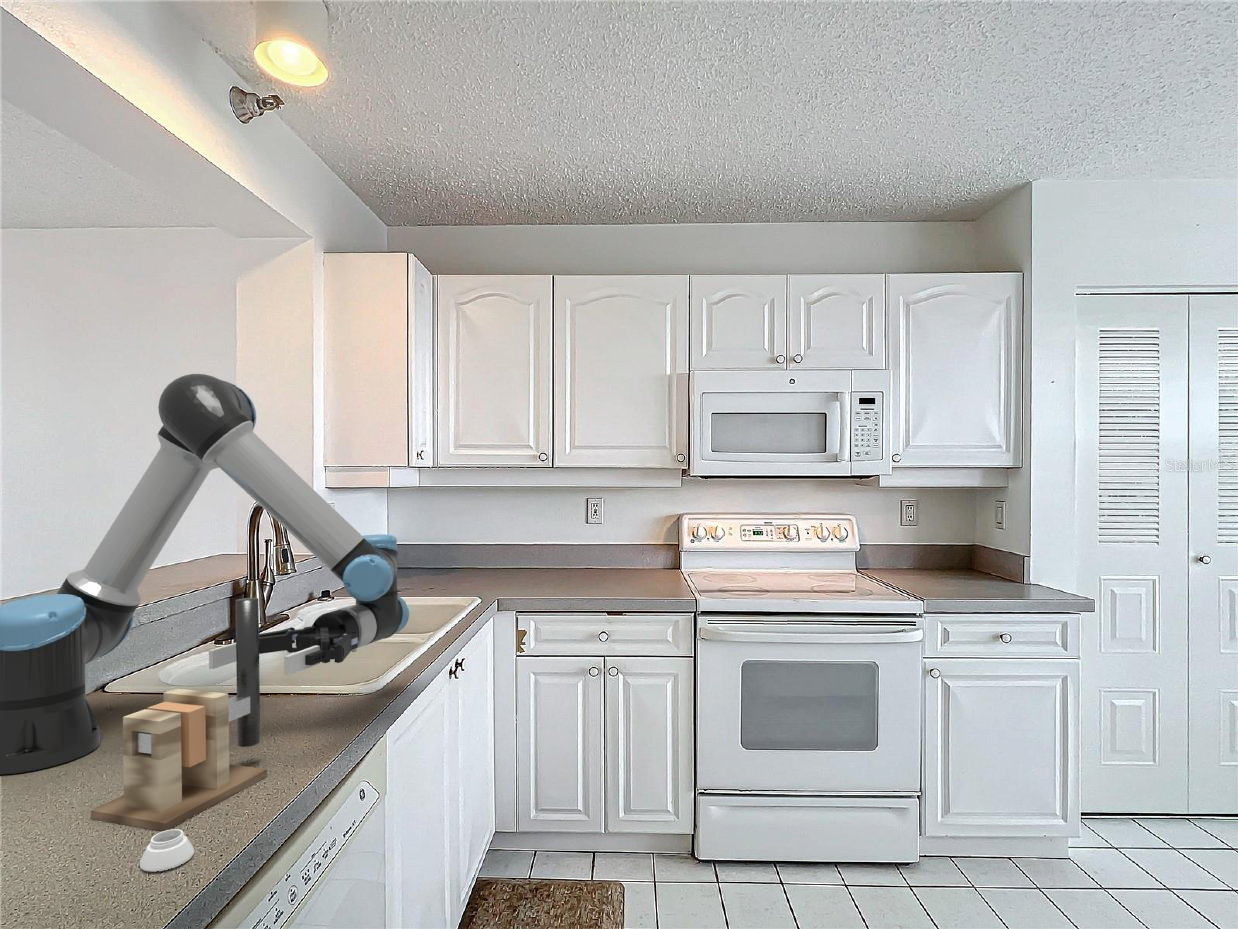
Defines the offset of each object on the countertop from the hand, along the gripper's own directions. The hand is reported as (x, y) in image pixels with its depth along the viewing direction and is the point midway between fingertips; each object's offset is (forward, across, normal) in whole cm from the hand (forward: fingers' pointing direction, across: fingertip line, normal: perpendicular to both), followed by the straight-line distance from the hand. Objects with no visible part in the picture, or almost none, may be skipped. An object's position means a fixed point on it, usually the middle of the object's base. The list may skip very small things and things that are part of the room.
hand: (247, 662), depth 106 cm
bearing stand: (+10, 0, -15) cm, 18 cm away
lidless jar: (+24, -11, -15) cm, 30 cm away
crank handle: (+7, +1, -12) cm, 14 cm away
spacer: (+12, +1, -10) cm, 15 cm away
